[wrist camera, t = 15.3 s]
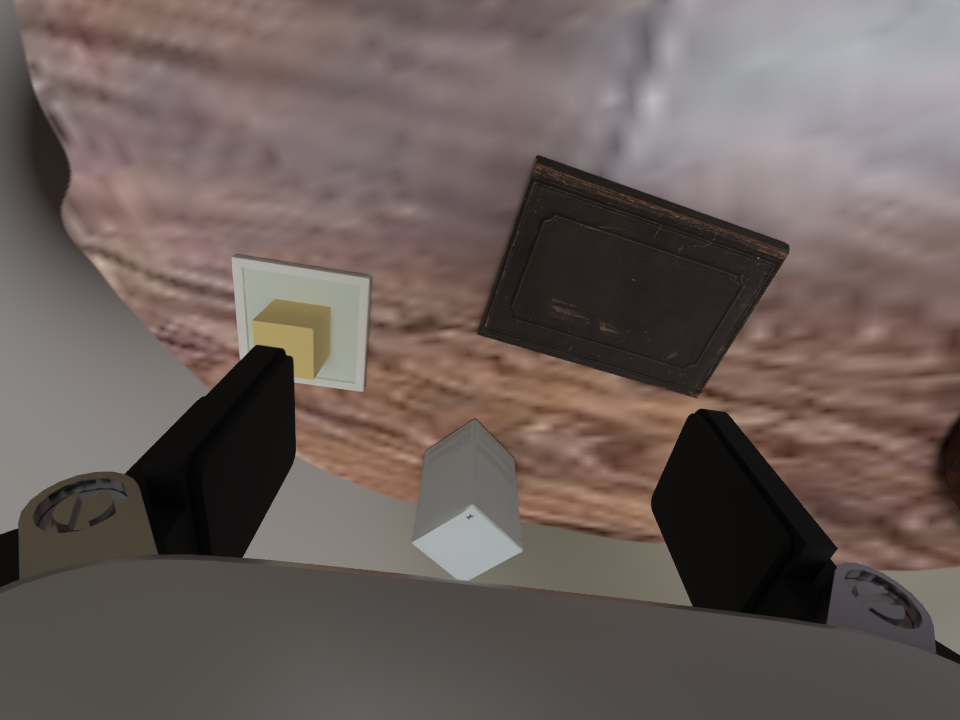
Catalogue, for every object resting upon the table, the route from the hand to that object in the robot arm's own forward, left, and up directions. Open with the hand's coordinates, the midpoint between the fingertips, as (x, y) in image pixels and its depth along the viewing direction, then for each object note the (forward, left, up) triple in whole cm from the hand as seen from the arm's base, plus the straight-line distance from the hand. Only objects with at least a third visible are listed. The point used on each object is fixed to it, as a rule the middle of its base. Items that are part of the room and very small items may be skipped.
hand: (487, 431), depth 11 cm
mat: (+14, -15, -32) cm, 38 cm away
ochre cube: (+14, -15, -32) cm, 38 cm away
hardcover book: (+5, +14, -33) cm, 36 cm away
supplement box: (+27, +3, -32) cm, 42 cm away
